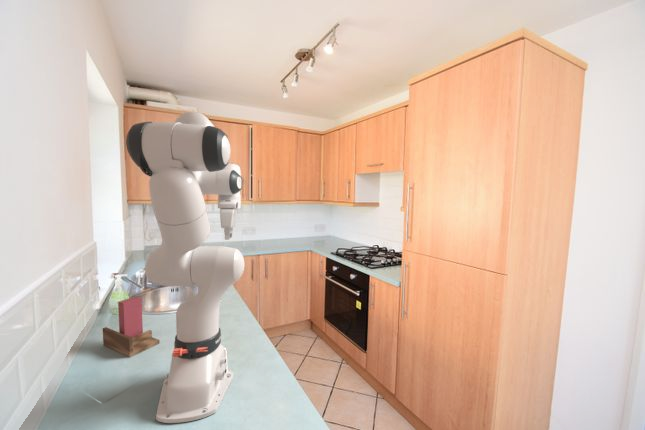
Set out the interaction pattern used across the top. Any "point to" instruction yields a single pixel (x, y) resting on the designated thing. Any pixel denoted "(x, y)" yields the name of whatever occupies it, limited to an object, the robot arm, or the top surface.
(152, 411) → the top surface
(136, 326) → the red rectangular block
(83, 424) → the top surface
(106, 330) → the book rack
